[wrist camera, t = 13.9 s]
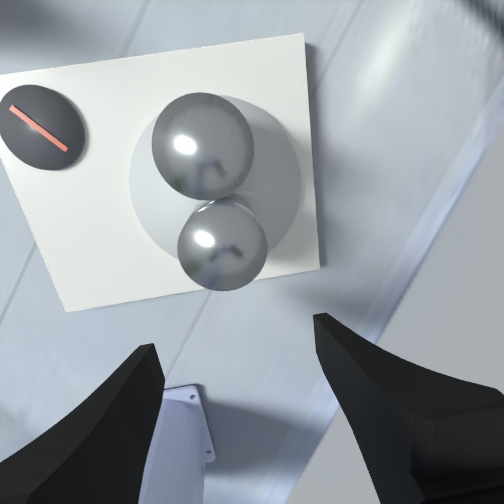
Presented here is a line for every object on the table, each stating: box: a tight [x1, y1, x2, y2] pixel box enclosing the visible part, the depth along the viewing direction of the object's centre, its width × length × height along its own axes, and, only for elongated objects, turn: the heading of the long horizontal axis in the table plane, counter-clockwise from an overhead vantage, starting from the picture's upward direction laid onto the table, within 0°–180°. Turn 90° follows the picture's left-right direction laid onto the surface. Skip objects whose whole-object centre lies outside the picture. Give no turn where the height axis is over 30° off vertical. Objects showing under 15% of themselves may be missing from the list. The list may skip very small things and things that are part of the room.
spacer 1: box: [151, 92, 254, 201], centre depth 15 cm, size 4×4×6 cm
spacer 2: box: [177, 193, 268, 291], centre depth 16 cm, size 4×4×6 cm
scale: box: [0, 33, 320, 312], centre depth 19 cm, size 15×19×2 cm
